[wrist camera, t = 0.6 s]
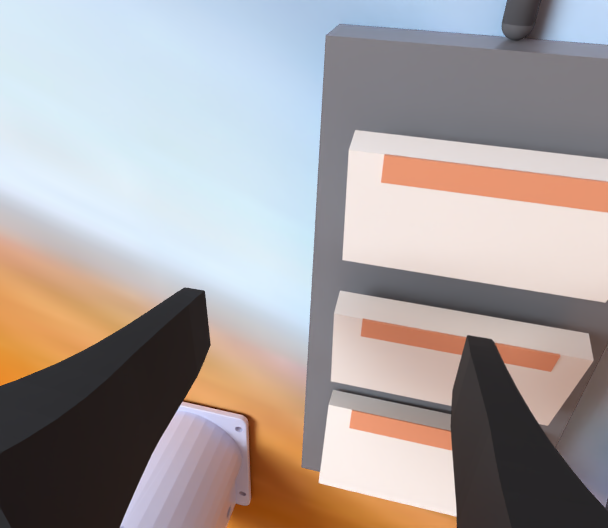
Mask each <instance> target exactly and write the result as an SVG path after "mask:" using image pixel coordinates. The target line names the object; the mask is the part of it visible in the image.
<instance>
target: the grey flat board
mask: <svg viewBox="0 0 608 528" xmlns="http://www.w3.org/2000/svg"><path fill="white" fill-rule="evenodd" d="M540 1H541V0H507V3H506V8H505V12H504V16H503V21H502V31H503V33H504V35H505V36H506V37H500V36H487V35H475V34H462V33H449V32H436V31H423V30H411V29H398V28H385V27H372V26H360V25H347V24H339V25H338V26H337V27H335V28H334V29H333V30H332V31H331V32H329V33H328V34H327V35H326V42H325V60H324V78H323V95H322V113H321V131H320V149H319V166H318V184H317V202H316V220H315V238H314V255H313V273H312V291H311V309H310V327H309V344H308V362H307V380H306V398H305V415H304V433H303V451H302V468H306V469H310V470H315V471H319V472H320V469H321V461H322V453H323V445H324V437H325V429H326V421H327V414H328V406H329V402H330V398H331V395H332V391H333V390H337V391H341V392H346V393H351V394H356V395H361V396H365V397H370V398H375V399H380V400H385V401H389V402H394V403H399V404H404V405H409V406H413V407H418V408H423V409H428V410H432V411H437V412H442V413H447V414H451V406H449V405H444V404H439V403H434V402H430V401H425V400H420V399H415V398H410V397H405V396H400V395H395V394H391V393H386V392H381V391H376V390H371V389H366V388H361V387H357V386H352V385H347V384H342V383H337V382H332V381H331V367H332V346H333V324H334V312H335V308H336V304H337V300H338V296H339V292H340V291H346V292H351V293H357V294H363V295H369V296H375V297H380V298H386V299H392V300H398V301H404V302H409V303H415V304H421V305H427V306H432V307H438V308H444V309H450V310H456V311H461V312H467V313H473V314H479V315H485V316H490V317H496V318H502V319H508V320H513V321H519V322H525V323H531V324H537V325H542V326H548V327H554V328H560V329H566V330H571V331H577V332H583V333H589V338H590V343H591V349H592V354H593V359H594V361H593V362H592V364H591V365H590V367H589V368H588V370H587V371H586V372H585V374H584V375H583V377H582V378H581V379H580V381H579V382H578V384H577V385H576V387H575V388H574V389H573V391H572V392H571V394H570V395H569V397H568V398H567V399H566V401H565V402H564V404H563V405H562V406H561V408H560V409H559V411H558V412H557V414H556V415H555V416H554V418H553V419H552V421H551V422H550V424H549V425H548V426H546V425H541V424H539V425H540V426H541V428H542V429H543V431H544V432H545V434H546V435H547V437H548V438H549V440H550V441H551V443H552V444H553V446H554V447H556V445H557V443H558V441H559V440H560V438H561V436H562V434H563V432H564V430H565V428H566V426H567V424H568V422H569V420H570V418H571V416H572V414H573V412H574V410H575V408H576V406H577V404H578V402H579V400H580V398H581V396H582V394H583V392H584V390H585V388H586V386H587V384H588V382H589V380H590V378H591V376H592V374H593V372H594V370H595V368H596V366H597V364H598V362H599V360H600V358H601V356H602V354H603V352H604V350H605V348H606V346H607V344H608V300H607V302H606V303H604V302H598V301H592V300H586V299H580V298H573V297H567V296H561V295H555V294H549V293H543V292H536V291H530V290H524V289H518V288H512V287H505V286H499V285H493V284H487V283H481V282H475V281H468V280H462V279H456V278H450V277H444V276H438V275H431V274H425V273H419V272H413V271H407V270H400V269H394V268H388V267H382V266H376V265H370V264H363V263H357V262H351V261H345V260H342V257H343V240H344V223H345V205H346V188H347V171H348V154H349V148H350V145H351V142H352V139H353V135H354V132H355V130H360V131H369V132H377V133H386V134H395V135H403V136H412V137H421V138H429V139H438V140H447V141H455V142H464V143H473V144H481V145H490V146H499V147H507V148H516V149H525V150H533V151H542V152H551V153H560V154H568V155H577V156H586V157H594V158H603V159H608V45H602V44H589V43H577V42H564V41H551V40H538V39H526V38H525V37H526V36H527V35H529V34H530V32H531V31H532V29H533V27H534V24H535V20H536V16H537V13H538V9H539V5H540Z"/></svg>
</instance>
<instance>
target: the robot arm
mask: <svg viewBox="0 0 608 528" xmlns="http://www.w3.org/2000/svg"><path fill="white" fill-rule="evenodd" d="M210 345H211V344H210V335H209V326H208V317H207V307H206V298H205V291H203V290H197V289H191V288H183V289H182V290H180V291H178V292H177V293H175V294H174V295H172V296H171V297H169V298H168V299H166V300H165V301H163V302H162V303H160V304H159V305H157V306H156V307H154V308H153V309H151V310H150V311H148V312H147V313H145V314H144V315H142V316H141V317H139V318H138V319H136V320H134V321H133V322H131V323H130V324H128V325H127V326H125V327H123V328H122V329H120V330H118V331H117V332H115V333H113V334H112V335H110V336H108V337H106V338H105V339H103V340H101V341H100V342H98V343H96V344H95V345H93V346H91V347H89V348H87V349H85V350H83V351H81V352H80V353H78V354H75V355H73V356H71V357H69V358H67V359H65V360H63V361H61V362H59V363H57V364H55V365H52V366H50V367H47V368H45V369H43V370H40V371H38V372H35V373H33V374H31V375H28V376H26V377H23V378H21V379H18V380H16V381H13V382H10V383H7V384H5V385H2V386H0V528H227V525H228V522H229V520H230V517H231V514H232V512H233V509H234V506H235V504H240V505H244V506H247V505H249V504H250V501H251V482H250V456H249V429H248V419H247V418H246V417H245V416H243V415H240V414H236V413H231V412H227V411H223V410H218V409H214V408H209V407H205V406H200V405H196V404H191V403H187V402H183V400H184V398H185V397H186V395H187V393H188V391H189V390H190V388H191V386H192V385H193V383H194V381H195V379H196V378H197V376H198V374H199V371H200V369H201V367H202V365H203V362H204V360H205V357H206V355H207V352H208V350H209V348H210ZM451 441H452V456H453V469H454V483H455V496H456V513H457V528H608V511H607V510H606V509H605V508H604V506H603V505H602V504H601V503H600V502H599V501H598V500H597V499H596V498H595V497H594V495H593V494H592V493H591V492H590V491H589V490H588V489H587V488H586V487H585V485H584V484H583V483H582V482H581V480H580V479H579V478H578V477H577V476H576V474H575V473H574V472H573V471H572V469H571V468H570V467H569V466H568V464H567V463H566V462H565V460H564V459H563V458H562V456H561V455H560V454H559V452H558V451H557V450H556V448H555V447H554V446H553V444H552V443H551V441H550V440H549V438H548V437H547V435H546V434H545V432H544V431H543V429H542V428H541V426H540V425H539V423H538V422H537V420H536V419H535V417H534V415H533V414H532V412H531V411H530V409H529V407H528V406H527V404H526V402H525V400H524V399H523V397H522V395H521V394H520V392H519V390H518V388H517V387H516V385H515V383H514V381H513V379H512V377H511V375H510V373H509V371H508V370H507V368H506V366H505V364H504V361H503V359H502V357H501V355H500V353H499V351H498V349H497V346H496V344H495V343H494V341H493V340H492V339H488V338H483V337H477V336H471V335H467V337H466V341H465V345H464V348H463V352H462V356H461V360H460V363H459V367H458V371H457V375H456V379H455V382H454V386H453V390H452V405H451Z"/></svg>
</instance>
